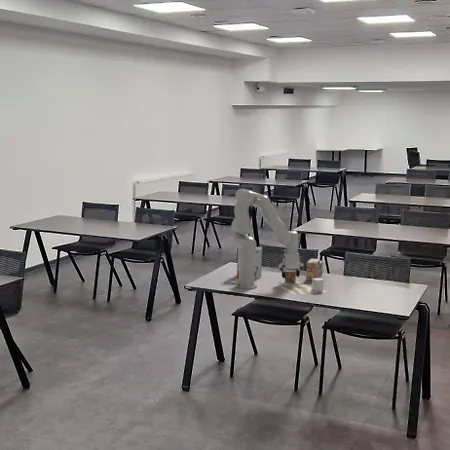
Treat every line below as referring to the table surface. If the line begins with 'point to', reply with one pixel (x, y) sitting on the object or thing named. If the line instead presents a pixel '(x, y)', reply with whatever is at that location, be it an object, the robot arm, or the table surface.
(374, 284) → the table surface
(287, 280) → the walnut block
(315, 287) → the pale grey block
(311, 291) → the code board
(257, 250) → the hard drive box
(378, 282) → the table surface
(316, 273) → the stack of blocks
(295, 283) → the mat
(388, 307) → the table surface
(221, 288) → the table surface
